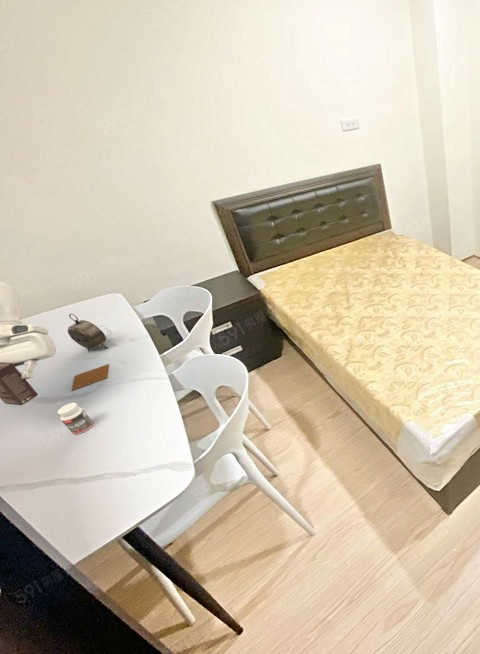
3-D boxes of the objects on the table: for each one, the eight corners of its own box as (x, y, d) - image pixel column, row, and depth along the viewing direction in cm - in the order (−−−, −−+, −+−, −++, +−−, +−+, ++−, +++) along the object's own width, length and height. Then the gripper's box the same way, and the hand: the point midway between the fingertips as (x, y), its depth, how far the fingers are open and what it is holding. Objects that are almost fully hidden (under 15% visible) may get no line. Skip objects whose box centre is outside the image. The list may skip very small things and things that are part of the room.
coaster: (72, 390, 131) (71, 390, 131) (75, 376, 137) (74, 375, 137) (107, 378, 135) (106, 377, 135) (108, 364, 142) (108, 363, 142)
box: (40, 394, 113) (12, 362, 107) (21, 406, 109) (-8, 374, 103) (23, 392, 114) (-5, 360, 108) (4, 404, 110) (-26, 372, 104)
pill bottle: (72, 437, 114) (54, 417, 110) (72, 427, 117) (55, 408, 113) (93, 428, 117) (77, 408, 113) (93, 418, 120) (77, 399, 116)
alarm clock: (113, 346, 151) (90, 311, 143) (98, 355, 146) (73, 319, 138) (92, 342, 153) (68, 308, 145) (77, 351, 149) (51, 316, 141)
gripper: (-65, 348, 104) (-59, 398, 101) (40, 322, 112) (48, 369, 109) (-44, 351, 109) (-37, 399, 107) (55, 327, 118) (63, 371, 115)
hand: (7, 384), depth 108 cm, fingers closed on box, 7 cm apart
